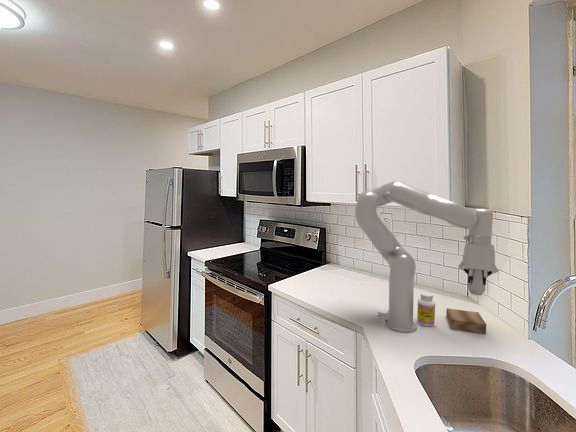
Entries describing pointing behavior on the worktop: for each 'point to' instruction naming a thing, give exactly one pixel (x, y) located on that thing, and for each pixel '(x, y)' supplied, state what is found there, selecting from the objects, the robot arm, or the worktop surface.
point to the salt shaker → (477, 283)
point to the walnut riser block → (465, 321)
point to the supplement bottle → (426, 309)
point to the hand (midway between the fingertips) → (476, 285)
